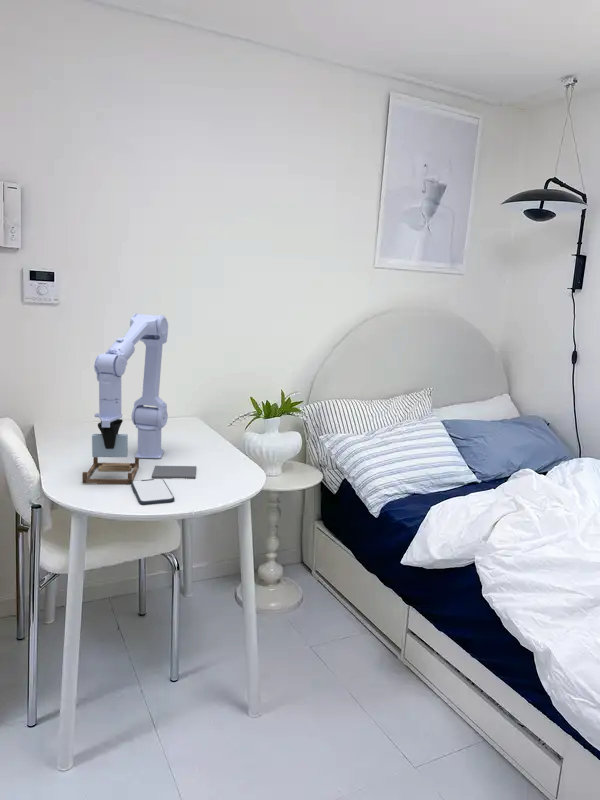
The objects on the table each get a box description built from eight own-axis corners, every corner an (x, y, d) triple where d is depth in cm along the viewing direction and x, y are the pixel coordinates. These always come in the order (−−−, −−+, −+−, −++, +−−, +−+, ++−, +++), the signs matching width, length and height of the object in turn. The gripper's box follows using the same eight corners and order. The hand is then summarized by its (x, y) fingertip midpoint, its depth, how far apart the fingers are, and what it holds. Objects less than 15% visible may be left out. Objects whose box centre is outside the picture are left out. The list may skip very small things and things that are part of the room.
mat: (155, 467, 173) (155, 465, 173) (196, 468, 175) (196, 466, 175) (151, 478, 164) (151, 476, 163) (195, 478, 165) (195, 476, 165)
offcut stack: (99, 468, 170) (99, 462, 170) (131, 468, 171) (131, 463, 171) (97, 471, 167) (97, 465, 167) (130, 471, 168) (130, 466, 168)
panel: (93, 455, 161) (93, 433, 160) (127, 455, 162) (127, 434, 161) (92, 457, 159) (92, 435, 158) (126, 457, 161) (126, 436, 159)
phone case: (175, 504, 147) (163, 483, 161) (175, 498, 146) (163, 477, 161) (139, 508, 143) (130, 486, 157) (139, 502, 143) (130, 480, 157)
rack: (94, 466, 171) (94, 456, 170) (138, 467, 173) (138, 457, 172) (82, 484, 156) (82, 473, 155) (131, 484, 158) (131, 473, 157)
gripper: (100, 393, 164) (100, 440, 167) (89, 403, 150) (89, 454, 153) (126, 393, 165) (126, 440, 168) (117, 403, 151) (117, 454, 154)
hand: (110, 447), depth 160 cm, fingers closed on panel, 2 cm apart
